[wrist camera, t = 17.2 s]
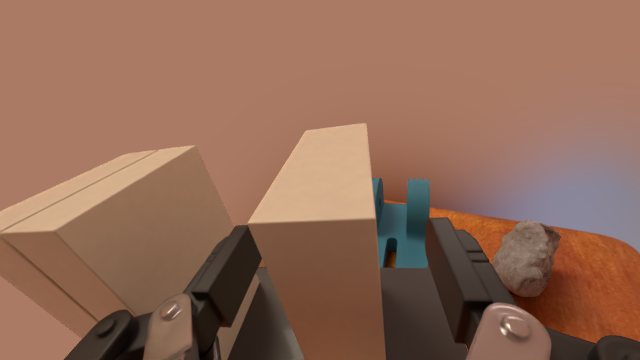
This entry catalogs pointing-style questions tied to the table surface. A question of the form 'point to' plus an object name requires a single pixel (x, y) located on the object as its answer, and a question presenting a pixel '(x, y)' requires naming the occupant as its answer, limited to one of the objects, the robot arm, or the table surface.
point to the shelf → (398, 318)
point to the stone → (527, 258)
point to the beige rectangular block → (325, 245)
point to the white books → (118, 239)
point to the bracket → (403, 225)
